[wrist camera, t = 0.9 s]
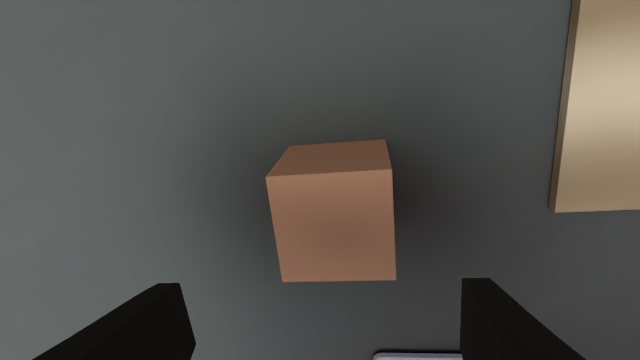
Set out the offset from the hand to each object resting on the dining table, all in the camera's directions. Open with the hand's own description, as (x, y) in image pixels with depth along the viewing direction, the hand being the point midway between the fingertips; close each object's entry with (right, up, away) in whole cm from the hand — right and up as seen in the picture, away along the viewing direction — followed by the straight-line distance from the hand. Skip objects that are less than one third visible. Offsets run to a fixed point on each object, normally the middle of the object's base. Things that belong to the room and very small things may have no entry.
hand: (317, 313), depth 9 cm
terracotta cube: (+1, +3, +9) cm, 9 cm away
